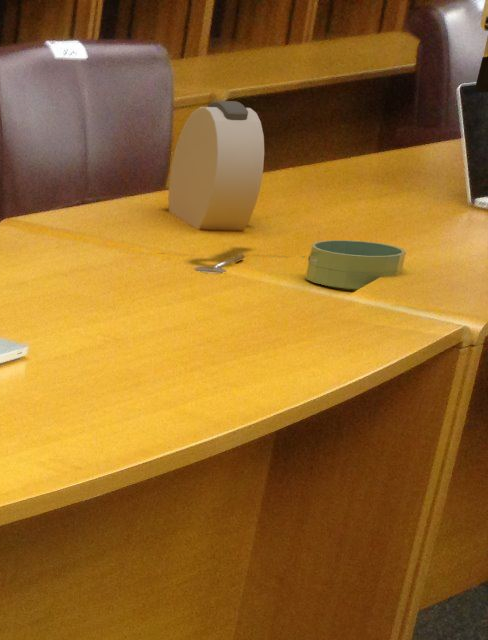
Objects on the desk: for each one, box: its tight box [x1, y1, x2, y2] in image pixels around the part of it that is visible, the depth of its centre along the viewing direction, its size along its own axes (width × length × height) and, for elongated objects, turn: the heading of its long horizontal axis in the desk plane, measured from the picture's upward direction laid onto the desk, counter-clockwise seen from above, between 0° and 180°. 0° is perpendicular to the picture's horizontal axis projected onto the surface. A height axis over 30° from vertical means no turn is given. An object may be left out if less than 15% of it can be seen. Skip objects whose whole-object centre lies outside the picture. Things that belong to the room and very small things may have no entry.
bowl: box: [304, 239, 407, 292], centre depth 216 cm, size 12×12×5 cm
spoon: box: [193, 253, 245, 274], centre depth 226 cm, size 16×4×1 cm, turn 141°
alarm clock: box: [167, 100, 265, 232], centre depth 252 cm, size 21×8×20 cm, turn 179°
